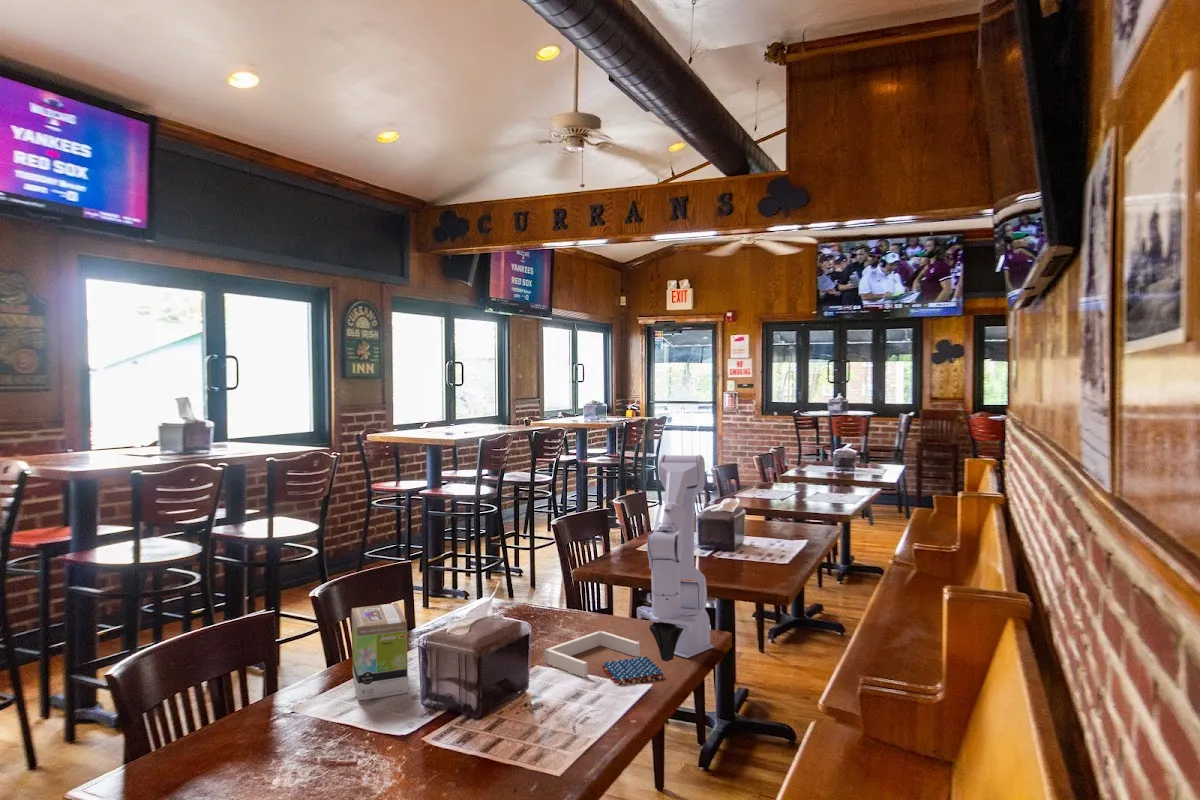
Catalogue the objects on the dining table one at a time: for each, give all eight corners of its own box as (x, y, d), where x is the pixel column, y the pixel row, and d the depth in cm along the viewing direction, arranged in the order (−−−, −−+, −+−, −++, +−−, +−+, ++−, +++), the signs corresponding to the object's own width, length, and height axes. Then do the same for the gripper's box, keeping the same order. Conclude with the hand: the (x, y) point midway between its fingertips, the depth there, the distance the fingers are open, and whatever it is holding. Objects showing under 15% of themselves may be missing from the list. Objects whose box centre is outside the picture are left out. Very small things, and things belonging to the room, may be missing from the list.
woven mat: (600, 670, 166) (600, 661, 166) (646, 663, 169) (646, 654, 169) (615, 689, 156) (615, 679, 156) (664, 681, 160) (664, 671, 159)
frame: (600, 643, 182) (600, 630, 182) (640, 656, 173) (639, 642, 173) (545, 663, 170) (544, 649, 170) (584, 678, 161) (583, 663, 161)
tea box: (410, 693, 155) (407, 620, 155) (357, 702, 152) (354, 627, 151) (400, 668, 169) (398, 600, 169) (351, 675, 166) (349, 606, 165)
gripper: (625, 589, 158) (627, 656, 158) (681, 603, 147) (682, 674, 148) (649, 582, 162) (650, 647, 163) (704, 595, 152) (705, 664, 152)
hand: (667, 659), depth 156 cm, fingers closed
